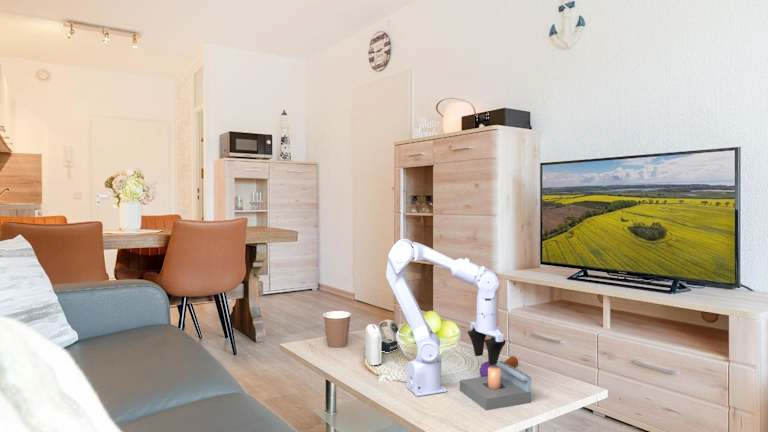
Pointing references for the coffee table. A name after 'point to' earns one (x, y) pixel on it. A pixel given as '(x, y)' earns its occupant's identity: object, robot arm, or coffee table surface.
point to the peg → (494, 378)
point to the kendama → (484, 367)
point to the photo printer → (373, 344)
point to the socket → (510, 394)
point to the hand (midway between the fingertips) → (485, 359)
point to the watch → (386, 343)
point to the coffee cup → (337, 328)
